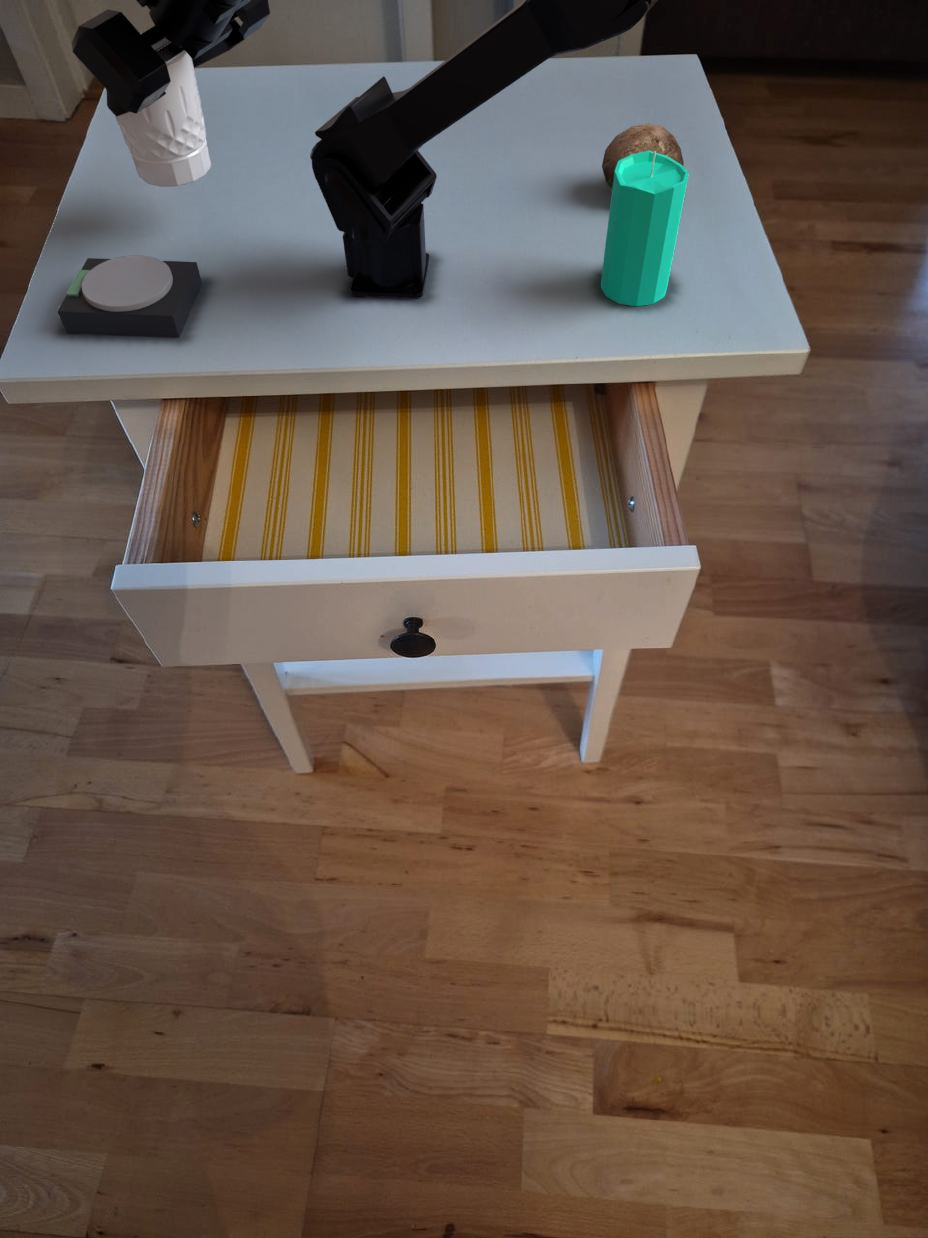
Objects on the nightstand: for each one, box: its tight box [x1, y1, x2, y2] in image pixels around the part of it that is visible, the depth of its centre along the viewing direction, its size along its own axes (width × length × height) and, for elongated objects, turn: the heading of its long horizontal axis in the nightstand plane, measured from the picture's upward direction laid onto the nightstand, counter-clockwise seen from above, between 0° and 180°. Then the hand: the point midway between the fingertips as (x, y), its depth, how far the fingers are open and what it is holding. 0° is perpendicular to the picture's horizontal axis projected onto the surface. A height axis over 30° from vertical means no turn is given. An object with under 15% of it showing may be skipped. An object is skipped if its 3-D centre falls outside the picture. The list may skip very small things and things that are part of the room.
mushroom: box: [601, 122, 685, 191], centre depth 89 cm, size 8×8×6 cm
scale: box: [56, 254, 203, 339], centre depth 79 cm, size 10×8×3 cm
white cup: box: [104, 32, 212, 188], centre depth 80 cm, size 8×8×10 cm
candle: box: [599, 151, 690, 308], centre depth 76 cm, size 6×6×12 cm
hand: (141, 91), depth 79 cm, fingers closed on white cup, 7 cm apart
